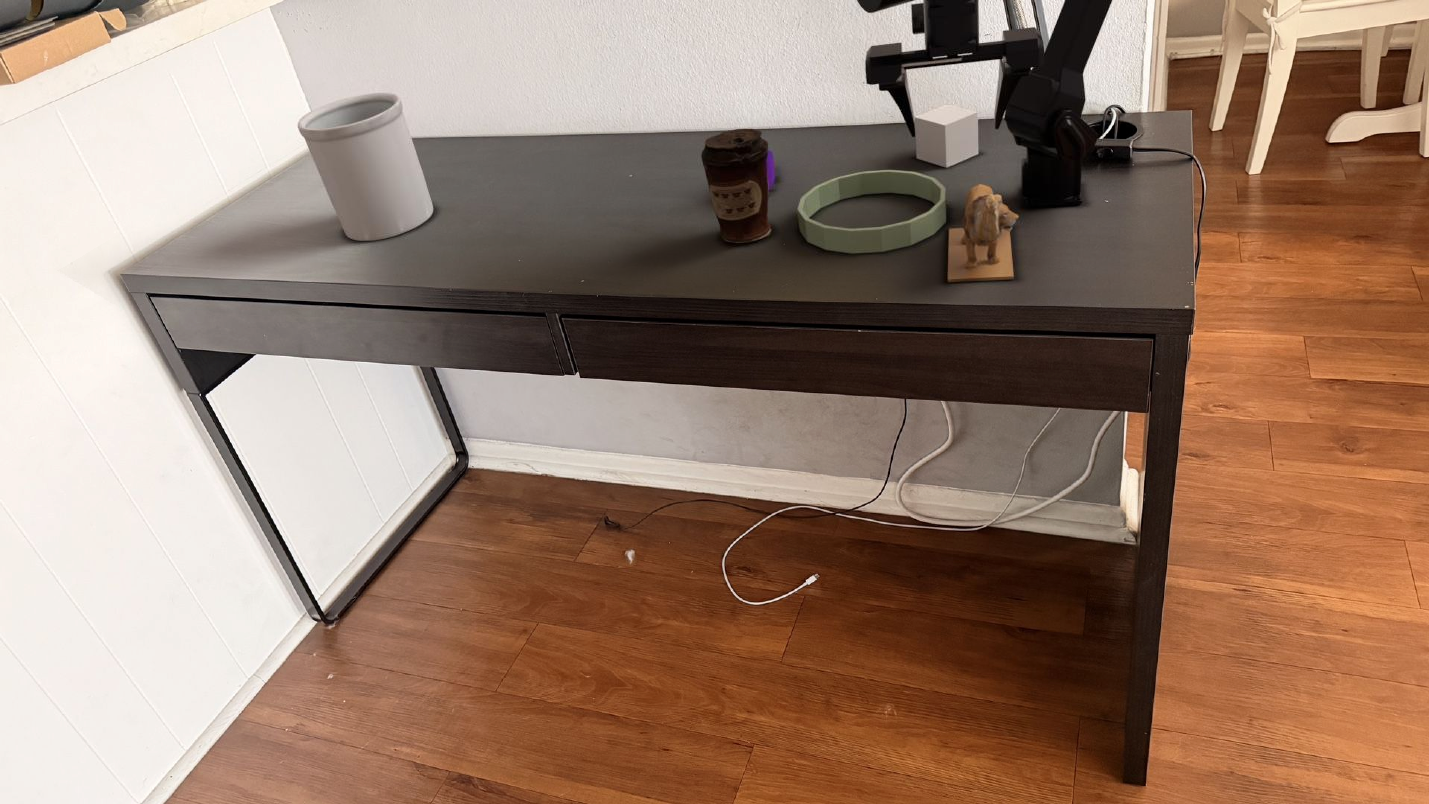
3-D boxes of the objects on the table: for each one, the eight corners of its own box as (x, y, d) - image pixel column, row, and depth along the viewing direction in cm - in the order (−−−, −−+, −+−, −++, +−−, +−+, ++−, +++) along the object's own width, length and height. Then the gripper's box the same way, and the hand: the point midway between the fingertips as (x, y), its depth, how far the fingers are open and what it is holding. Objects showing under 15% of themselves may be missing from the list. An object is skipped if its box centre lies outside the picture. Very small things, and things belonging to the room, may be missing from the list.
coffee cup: (773, 247, 128) (759, 147, 120) (708, 251, 130) (691, 153, 123) (783, 218, 134) (770, 122, 127) (721, 222, 137) (706, 127, 130)
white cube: (978, 154, 142) (978, 111, 139) (946, 168, 140) (945, 125, 137) (947, 145, 147) (946, 103, 144) (916, 158, 145) (914, 116, 141)
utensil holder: (372, 251, 147) (329, 133, 138) (322, 233, 157) (278, 121, 147) (455, 211, 155) (419, 97, 146) (403, 196, 165) (366, 88, 155)
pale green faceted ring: (947, 187, 135) (946, 165, 133) (945, 248, 120) (944, 225, 119) (810, 196, 139) (807, 175, 138) (792, 256, 125) (789, 234, 123)
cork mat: (1009, 228, 122) (1009, 225, 122) (1013, 279, 112) (1013, 276, 111) (949, 231, 124) (949, 228, 124) (947, 282, 113) (947, 279, 113)
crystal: (783, 136, 149) (761, 165, 137) (786, 169, 151) (765, 201, 139) (751, 138, 151) (727, 167, 138) (754, 171, 153) (731, 202, 140)
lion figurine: (1020, 276, 111) (1021, 199, 106) (970, 283, 112) (969, 206, 107) (991, 221, 123) (991, 150, 118) (946, 227, 124) (944, 156, 119)
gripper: (1035, -40, 112) (1033, 100, 121) (864, -18, 117) (874, 116, 125) (1045, -16, 103) (1043, 133, 112) (860, 7, 108) (871, 149, 116)
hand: (954, 131), depth 117 cm, fingers open, 9 cm apart
